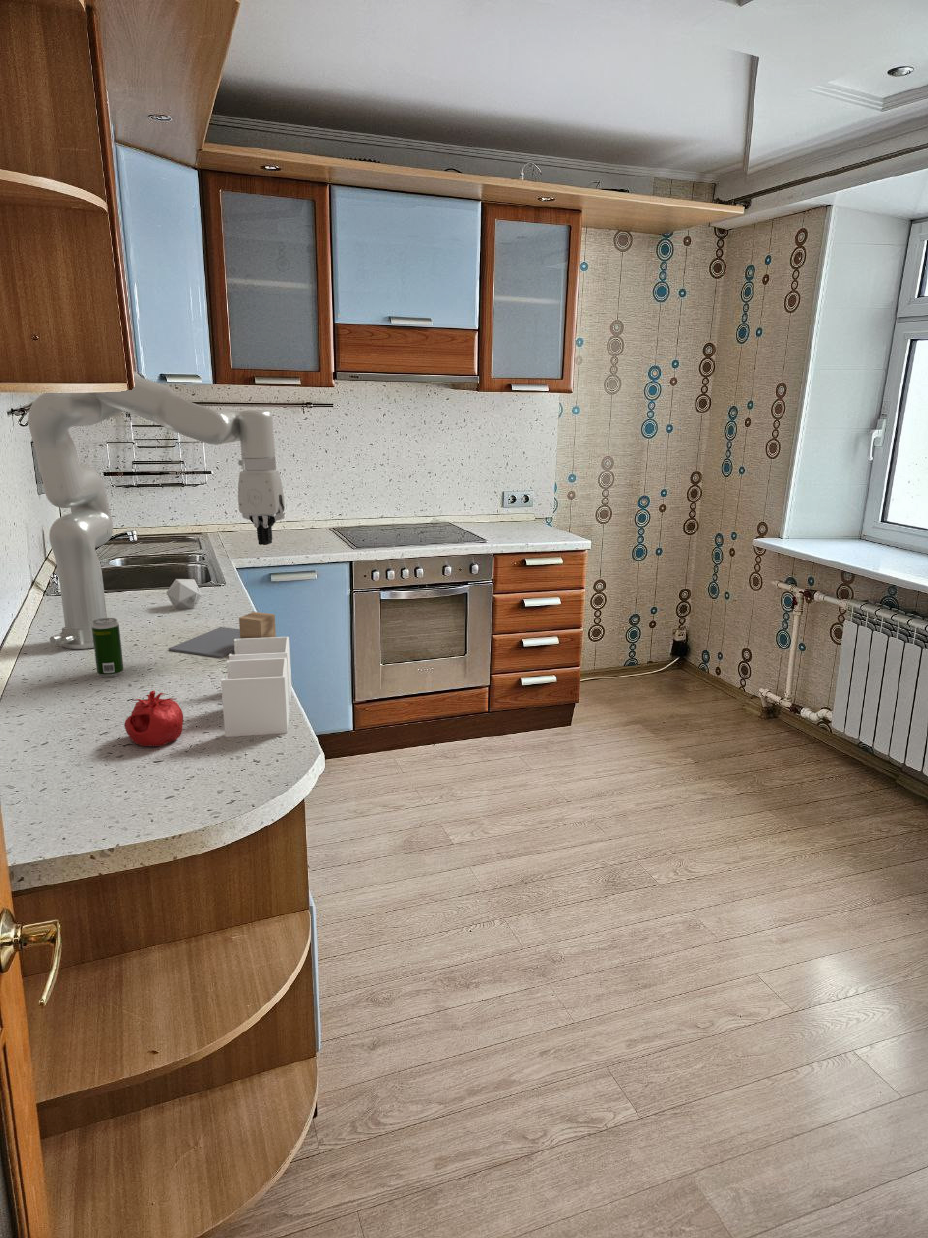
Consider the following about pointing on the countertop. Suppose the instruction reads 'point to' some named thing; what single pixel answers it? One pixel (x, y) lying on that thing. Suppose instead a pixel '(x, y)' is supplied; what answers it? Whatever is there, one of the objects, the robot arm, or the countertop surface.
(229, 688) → the storage container
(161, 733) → the pomegranate
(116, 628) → the beer can
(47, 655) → the countertop surface
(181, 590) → the die
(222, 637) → the mat
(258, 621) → the block
